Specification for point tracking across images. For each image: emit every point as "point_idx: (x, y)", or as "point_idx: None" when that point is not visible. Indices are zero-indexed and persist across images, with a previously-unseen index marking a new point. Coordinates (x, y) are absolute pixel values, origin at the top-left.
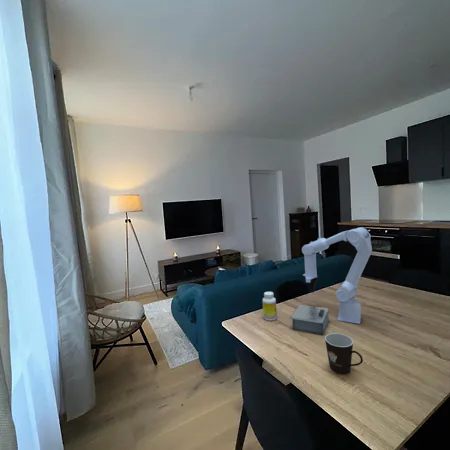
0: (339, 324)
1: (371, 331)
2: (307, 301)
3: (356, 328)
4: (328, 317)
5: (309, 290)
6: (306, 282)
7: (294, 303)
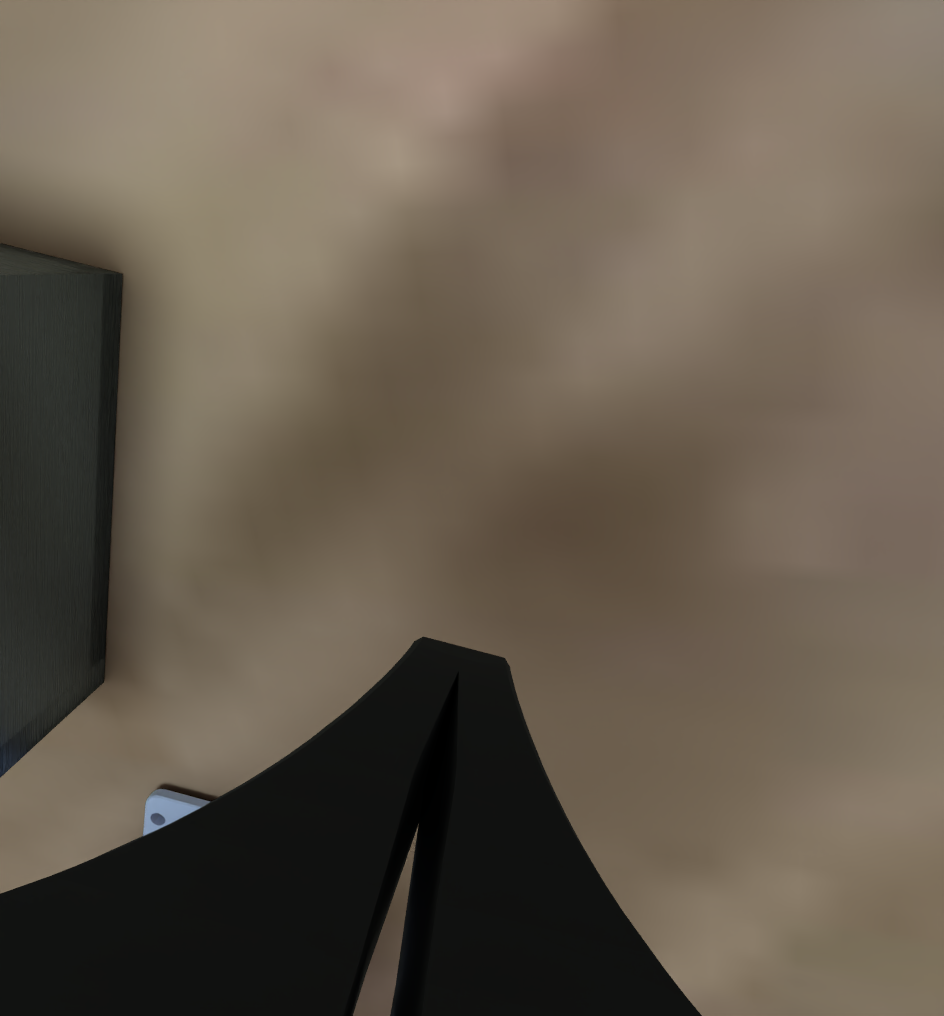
0: (59, 783)
1: None
2: (928, 412)
3: None
4: (64, 715)
5: (398, 666)
6: (41, 891)
7: (810, 89)
